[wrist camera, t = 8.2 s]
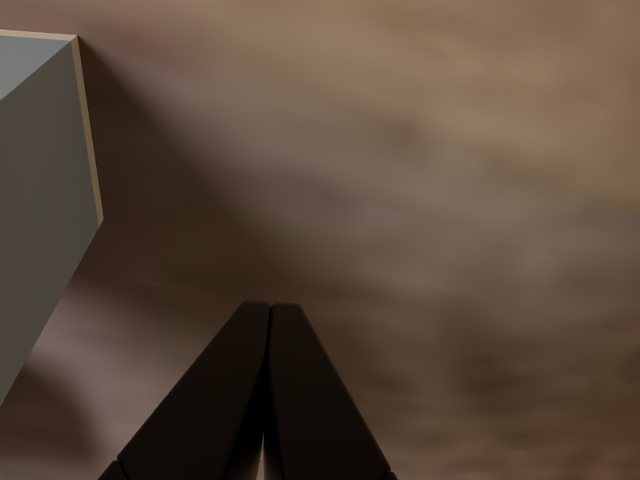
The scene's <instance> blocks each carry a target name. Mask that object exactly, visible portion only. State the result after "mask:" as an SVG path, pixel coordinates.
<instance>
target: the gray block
mask: <svg viewBox="0 0 640 480" xmlns="http://www.w3.org/2000/svg"><path fill="white" fill-rule="evenodd" d="M103 220H104V217H103V210H102V203H101V196H100V190H99V183H98V176H97V169H96V162H95V155H94V148H93V141H92V134H91V127H90V120H89V113H88V106H87V100H86V93H85V86H84V79H83V72H82V65H81V58H80V51H79V44H78V37H77V35H68V34H54V33H41V32H28V31H15V30H1V29H0V407H1V405H2V403H3V401H4V399H5V397H6V396H7V394H8V392H9V390H10V388H11V387H12V385H13V383H14V381H15V379H16V377H17V376H18V374H19V372H20V370H21V368H22V367H23V365H24V363H25V361H26V359H27V357H28V356H29V354H30V352H31V350H32V348H33V347H34V345H35V343H36V341H37V339H38V338H39V336H40V334H41V332H42V330H43V328H44V327H45V325H46V323H47V321H48V319H49V318H50V316H51V314H52V312H53V310H54V308H55V307H56V305H57V303H58V301H59V299H60V298H61V296H62V294H63V292H64V290H65V289H66V287H67V285H68V283H69V281H70V279H71V278H72V276H73V274H74V272H75V270H76V269H77V267H78V265H79V263H80V261H81V259H82V258H83V256H84V254H85V252H86V250H87V249H88V247H89V245H90V243H91V241H92V239H93V238H94V236H95V234H96V232H97V230H98V229H99V227H100V225H101V223H102V221H103Z"/></svg>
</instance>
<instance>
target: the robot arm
mask: <svg viewBox="0 0 640 480" xmlns="http://www.w3.org/2000/svg"><path fill="white" fill-rule="evenodd" d="M263 434H264V443H263ZM262 443H263V459H264V480H398V479H397V477H396V476H395V474H394V473H393V472H390V471H391V467H390V465H389V463H388V462H387V460H386V458H385V456H384V454H383V453H382V451H381V449H380V447H379V445H378V444H377V442H376V440H375V438H374V437H373V435H372V433H371V431H370V429H369V428H368V426H367V424H366V422H365V420H364V419H363V417H362V415H361V413H360V411H359V410H358V408H357V406H356V404H355V402H354V401H353V399H352V397H351V395H350V393H349V392H348V390H347V388H346V386H345V384H344V383H343V381H342V379H341V377H340V375H339V374H338V372H337V370H336V368H335V366H334V365H333V363H332V361H331V359H330V357H329V356H328V354H327V352H326V350H325V348H324V347H323V345H322V343H321V341H320V339H319V338H318V336H317V334H316V332H315V330H314V329H313V327H312V325H311V323H310V321H309V320H308V318H307V316H306V314H305V313H304V311H303V309H302V307H301V306H300V305H299V304H296V303H280V302H276V303H274V304H273V305H272V309H271V304H270V303H269V302H261V301H245V302H243V303H242V304H241V305H240V306H239V308H238V309H237V310H236V311H235V312H234V314H233V315H232V316H231V317H230V319H229V320H228V321H227V322H226V324H225V325H224V326H223V327H222V328H221V330H220V331H219V332H218V333H217V335H216V336H215V337H214V338H213V339H212V341H211V342H210V343H209V344H208V346H207V347H206V348H205V349H204V350H203V352H202V353H201V354H200V355H199V357H198V358H197V359H196V360H195V361H194V363H193V364H192V365H191V366H190V368H189V369H188V370H187V371H186V372H185V374H184V375H183V376H182V377H181V379H180V380H179V381H178V382H177V384H176V385H175V386H174V387H173V388H172V390H171V391H170V392H169V393H168V395H167V396H166V397H165V398H164V399H163V401H162V402H161V403H160V404H159V406H158V407H157V408H156V409H155V410H154V412H153V413H152V414H151V415H150V417H149V418H148V419H147V420H146V421H145V423H144V424H143V425H142V426H141V428H140V429H139V430H138V431H137V432H136V434H135V435H134V436H133V437H132V439H131V440H130V441H129V442H128V444H127V445H126V446H125V447H124V448H123V450H122V451H121V452H120V453H119V455H118V456H117V460H115V461H113V462H112V463H111V464H110V465H109V466H108V468H107V469H106V470H105V471H104V473H103V474H102V475H101V476H100V477H99V479H98V480H256V478H257V473H258V468H259V463H260V457H261V451H262Z"/></svg>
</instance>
